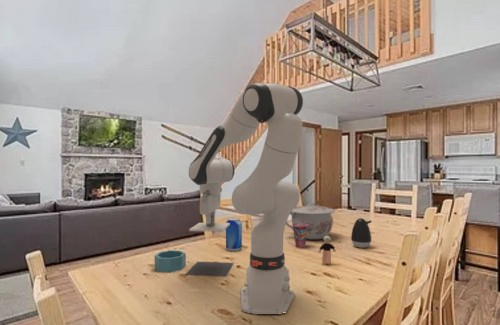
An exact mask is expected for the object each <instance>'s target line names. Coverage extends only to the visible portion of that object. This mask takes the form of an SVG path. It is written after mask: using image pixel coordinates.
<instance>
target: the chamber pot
mask: <svg viewBox="0 0 500 325" xmlns="http://www.w3.org/2000/svg"><path fill="white" fill-rule="evenodd" d="M335 212H336V209H334V208H331V207H326V206H321V205H317V204H316V203H313V202H311V203H309V204H308V205H301V206H296V207H295V208H294V209H293V210H292V211H291V213H290V215H289V216H291V224H289V222H288V220H287V221H286V224H285V226H287V227H289V228H290V229H291V230H292V231H293V232H294V230H293V225H292V224H295V223H305V224H310V225H308V228H307V236H306V240H309V241H319V240H324V239H323V238H324V237H325V236H329V235H330V233H331V232H332V229H333V224H334V218H333V216H332V214H333V213H335Z"/></svg>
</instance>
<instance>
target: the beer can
mask: <svg viewBox="0 0 500 325" xmlns="http://www.w3.org/2000/svg"><path fill="white" fill-rule="evenodd" d="M225 223H230V225H229V226H228V227H227V228H226V229H225V248H226V249H227V251H229V252H238V251H241V249H242V248H243V229H242V228H243V226H242V224H243V223H242V221H241V218H239V217H229V218H227V219H226V222H225Z"/></svg>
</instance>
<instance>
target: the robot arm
mask: <svg viewBox="0 0 500 325" xmlns="http://www.w3.org/2000/svg"><path fill="white" fill-rule="evenodd" d="M303 105H304V99H303V95H302V93H301V92H300V91H299V90H298V89H297V88H295V87H293V86H289V85H284V84H278V83H271V82H269V83H268V82H267V83H263V82H256V83H252V84H250V85H248V86H247V87H246V89H244V90H243V91H242V92H241V93H240V96H239V97H238V98H237V100H236V102H235V103H234V105H233V107H232V110H231V111H230V113H229V115H228V117H227V118H226V119H225V120H224V122H222V123H221V124H220V125H219V126H218V127H217V126H216V127H215V128H214V129H213V131H212V133H211V134H210V136H209V137H208V138H207V140H206V141H205V144H204V145H203V147H202V148H201V150H200V151H199V153H198V155H197V156H196V157H195V158H194V159H193V161H192V162H191V163H190V165H189V168H188V176H189V178H190V180H191V181H192V182H193V183H194V184H195V185H197V186H199V194H200V195H201V196H200V198H199V214H200V215H203V216H205V223H208V224H210V223H211V215H215V216H216V211H217V210H219V208H220V207H221V196H222V194H221V193H222V191H223V190H222V188H223V187H221V183H222V184H223V183H229V182H230V181H232V180H233V178H234V176H235V172H236V171H235V170H236V169H235V165H234V163H233V162H232V161H231V160H229V159H227V158H225V157H222V156H221V155H220V153H219V152H220V151H221V150H222V149H223V148H225V147H227V146H231V145H234V144H238V143H243V142H246V141H248V140H250V139H251V138H252V136H253V135H254V134H255V133H256V131H257V130H258V127H259V126H260V124H264V123H266V124H267V134H266V137H265V140H264V144H263V148H262V151H261V155H260V158H259V160H258V163H257V165H256V167H255V168H254V170H253V171H252V173H250V175H249V176H248V177H247V178H246V179H245V180H244V181H242V182H240V183H239V184H238V185H237V186H236V187H234V189H233V191H232V194H231V204H232V206H233V209H235V211H236V212H237V213H238V214H241V215H246V216H247V215H249V216H256V215H262V217H261V219H260V221H259V222H258V223H257V224H256V225H255V226H254V227H253V228H252V229H251V231H250V249H251V250H250V254H249V266H248V267H246V282H244V287H243V288H241V289H240V292H239V293H240V304H241V306H240V307H241V311H242V312H244V313H246V312H247V313H248V314H250V313H252V314H251V315H257V314H279V313H283V312H286V311H287V310H288V311H289V309H290V307H291V305H292V303H293V301H294V298H295V296H296V292H295V291H294V290H293V289H292V290H291V289H290V288H291V286H290V272H289V271H290V270H289V269H288V268H287V266H285V259H286V258H285V253H284V233H285V228H286V221H287V222H288V218H289V217H290V216H291V215H290V213H291V211H292V210H293V209H294V208H295V207H298V204H299V202H300V198H301V197H300V196H301V194H300V192H299V188H298V187H297V186H296V184H295V183H293V182H290V181H286V180H285V181H284V179H286V178H287V177H288V176H289V175H290V174H291V173H292V172H293V169H294V165H295V161H296V159H297V155H298V152H299V149H300V145H301V140H302V133H303V126H304V124H303V121H302V119H301V118H300V117H299V115H298V114H299V113H300V112H301V110H302V109H303ZM292 300H293V301H292ZM291 302H292V303H291ZM290 304H291V305H290ZM289 306H290V307H289ZM288 308H289V309H288ZM288 311H287V312H288Z"/></svg>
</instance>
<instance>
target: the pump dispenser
mask: <svg viewBox="0 0 500 325" xmlns="http://www.w3.org/2000/svg"><path fill="white" fill-rule="evenodd" d="M371 223H372V220H365V219H364V218H357V219H356V221H355V222H354V224H353V227H352V231H351V236H350V240H351V242H352V244H353V246H354V247H356V248H359V249H366V248H368V247H369V246H370V245H371V243H372V234H371V230H370V227H369V224H371Z"/></svg>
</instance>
